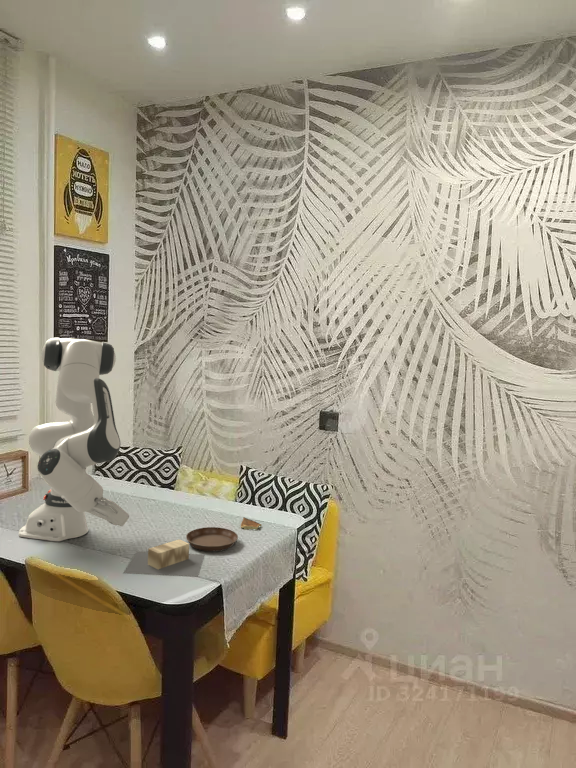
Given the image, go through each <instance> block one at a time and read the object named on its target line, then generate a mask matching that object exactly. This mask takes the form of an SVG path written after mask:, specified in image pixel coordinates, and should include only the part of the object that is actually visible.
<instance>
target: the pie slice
mask: <svg viewBox="0 0 576 768" xmlns="http://www.w3.org/2000/svg"><path fill="white" fill-rule="evenodd" d="M259 526H261V527H262V526H263V525H262V524H261V523H259V522H257V521H254V520H252V519H250V518H247V517H245V516H243V519H242V521H241V524H240V529H241V528H244V529H243V530H249V529H256V530H258V529H259V528H260V527H259ZM258 527H259V528H258Z"/></svg>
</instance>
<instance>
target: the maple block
mask: <svg viewBox="0 0 576 768" xmlns="http://www.w3.org/2000/svg"><path fill="white" fill-rule="evenodd" d="M147 552H148V565H150V566H152V567H154V568H156V569H161V568H164V567H167V566H169V565H172V564H175V563H178V562H181V561H184V560H187V559H189V554H190V543H189V542H188V541H187V542H186V541H184V540H182V539H175V540H172V541H169V542H165V543H162V544H159V545H156V546H153V547H149V548H148V549H147Z"/></svg>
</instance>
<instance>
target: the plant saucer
mask: <svg viewBox="0 0 576 768" xmlns="http://www.w3.org/2000/svg"><path fill="white" fill-rule="evenodd" d="M185 535H186V536H185V538H186V540H187V543H189V545H190V546H192V547H193V549H196V550H198V549H199V551H202V550H203V551H204V552H212V551H213V552H222V551H225V549H226V550H228V549H230V548H231V547H232V546H234V545H235V544H236V542H237V540H238V538H239V536H238V534H237V532H235V531H234V530H232V529H229V528H224V527H215V526H207V527H199V528H196V529H193V530H191V531H189V532H188V533H187V534H185ZM221 550H222V551H221ZM203 551H202V552H203Z"/></svg>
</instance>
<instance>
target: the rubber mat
mask: <svg viewBox="0 0 576 768" xmlns="http://www.w3.org/2000/svg"><path fill="white" fill-rule="evenodd" d="M204 557H206V554H199V553H189V559H187V560H184V561H181V562H178V563H175V564H172V565H169V566H167V567H164V568H161V569H156V568H154V567H152V566H150V565H148V551H143V550H142V551H139V550H138V551H135V552H134V555H133V556H132V558H131V560H130V561H129V563H128V564H127V565H126V567H125V569H124V570H123V573H122V574H132V575H150V576H151V575H152V576H170V577H191V578H192V577H193V578H195V577H196V578H197V577H199V573H200V571H201V568H202V564H203V561H204Z"/></svg>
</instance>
